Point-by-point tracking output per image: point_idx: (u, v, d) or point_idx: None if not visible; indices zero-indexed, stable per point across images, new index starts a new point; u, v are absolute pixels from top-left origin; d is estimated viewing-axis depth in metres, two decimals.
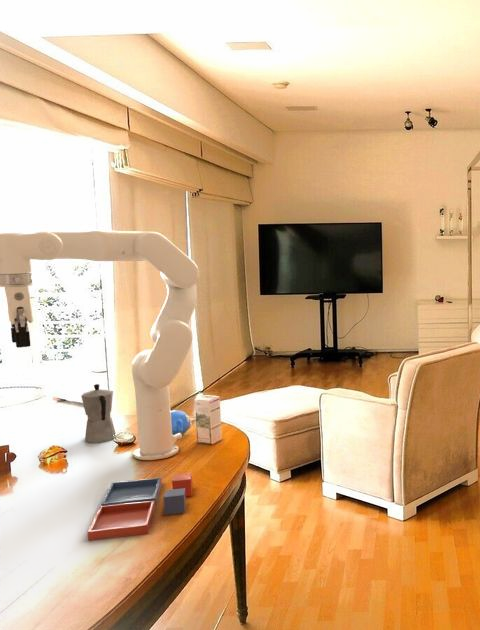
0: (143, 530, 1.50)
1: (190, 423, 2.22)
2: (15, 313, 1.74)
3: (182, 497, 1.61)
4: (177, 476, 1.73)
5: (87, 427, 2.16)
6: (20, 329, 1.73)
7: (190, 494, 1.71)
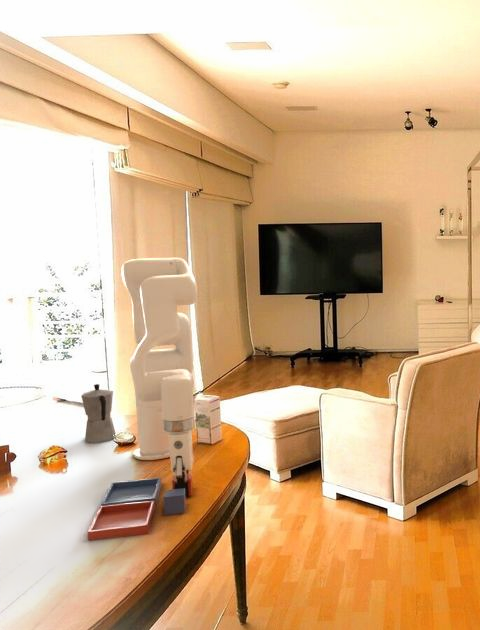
0: (143, 530, 1.50)
1: None
2: (174, 462, 1.67)
3: (182, 497, 1.61)
4: None
5: (87, 427, 2.16)
6: (178, 481, 1.68)
7: (190, 494, 1.71)
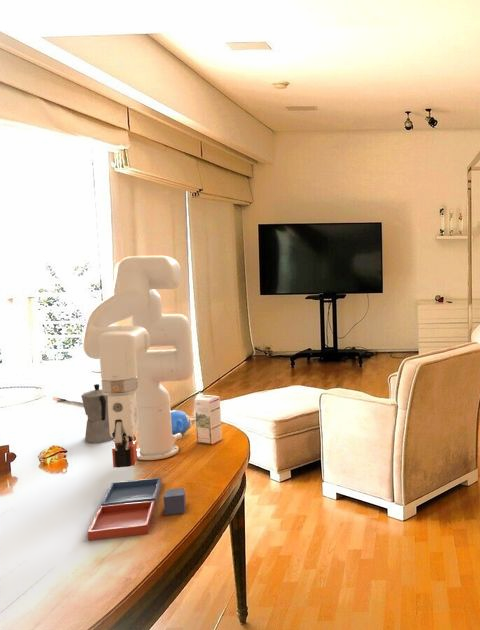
0: (143, 530, 1.50)
1: (190, 423, 2.22)
2: (113, 427, 1.49)
3: (182, 497, 1.61)
4: None
5: (87, 427, 2.16)
6: (118, 448, 1.51)
7: (133, 463, 1.54)
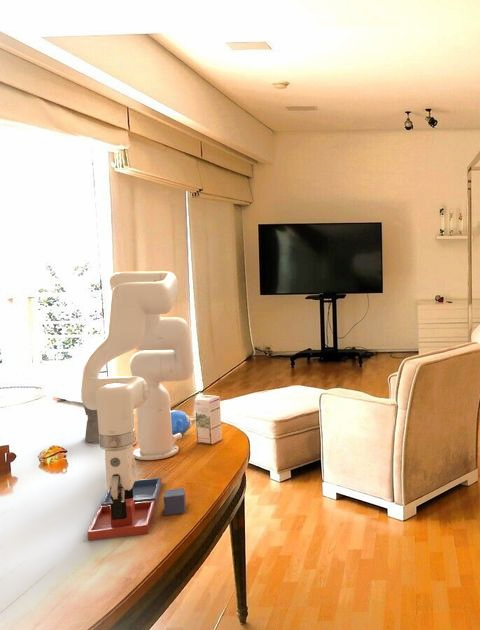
0: (143, 530, 1.50)
1: (190, 423, 2.22)
2: (110, 481, 1.50)
3: (182, 497, 1.61)
4: None
5: (87, 427, 2.16)
6: (114, 501, 1.49)
7: (130, 522, 1.54)
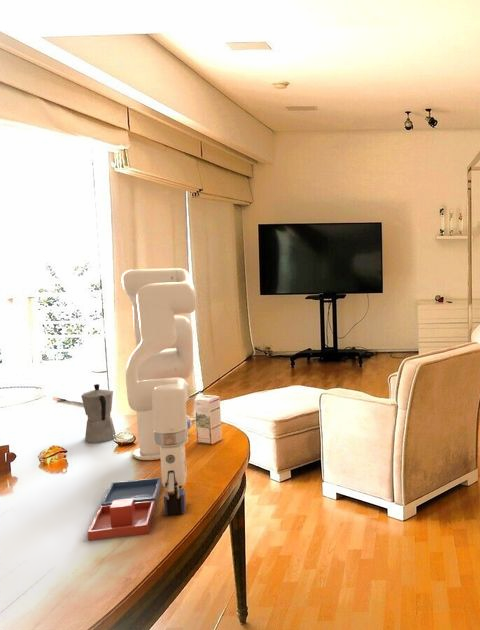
0: (143, 530, 1.50)
1: (190, 423, 2.22)
2: (166, 477, 1.56)
3: (182, 497, 1.61)
4: (117, 502, 1.56)
5: (87, 427, 2.16)
6: (170, 497, 1.58)
7: (130, 522, 1.54)
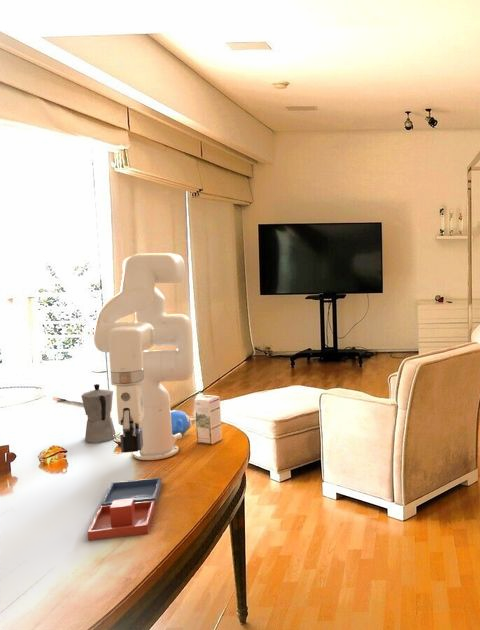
0: (143, 530, 1.50)
1: (190, 423, 2.22)
2: (121, 414, 1.62)
3: (138, 435, 1.66)
4: (117, 502, 1.56)
5: (87, 427, 2.16)
6: (126, 434, 1.64)
7: (130, 522, 1.54)
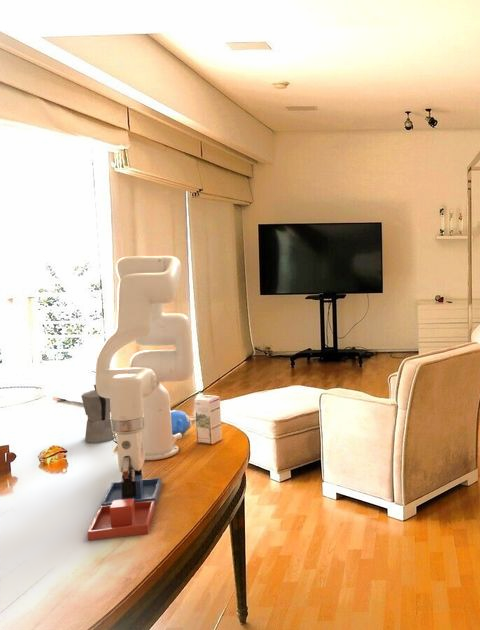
0: (143, 530, 1.50)
1: (190, 423, 2.22)
2: (122, 462, 1.64)
3: (138, 483, 1.68)
4: (117, 502, 1.56)
5: (87, 427, 2.16)
6: (125, 480, 1.64)
7: (130, 522, 1.54)
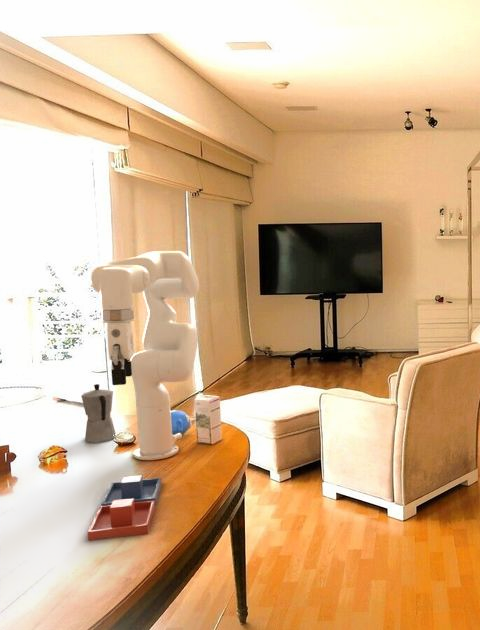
0: (143, 530, 1.50)
1: (190, 423, 2.22)
2: (112, 350, 1.70)
3: (138, 483, 1.68)
4: (117, 502, 1.56)
5: (87, 427, 2.16)
6: (114, 367, 1.69)
7: (130, 522, 1.54)
